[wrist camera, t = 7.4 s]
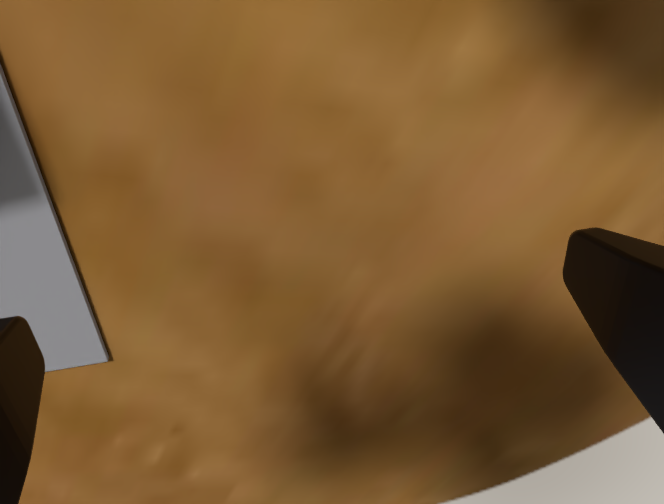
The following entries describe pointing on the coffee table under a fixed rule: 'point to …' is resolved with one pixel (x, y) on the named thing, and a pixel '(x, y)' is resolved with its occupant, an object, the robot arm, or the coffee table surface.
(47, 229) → the mat
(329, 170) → the coffee table surface
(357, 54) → the coffee table surface
